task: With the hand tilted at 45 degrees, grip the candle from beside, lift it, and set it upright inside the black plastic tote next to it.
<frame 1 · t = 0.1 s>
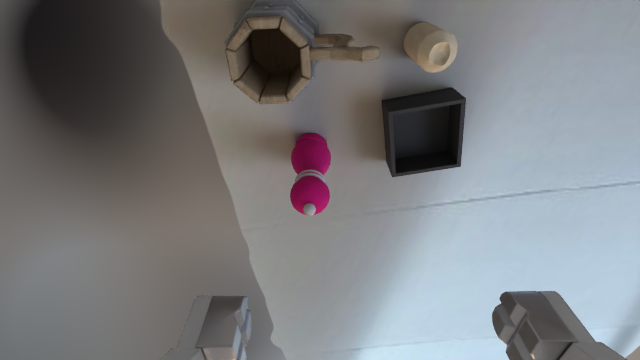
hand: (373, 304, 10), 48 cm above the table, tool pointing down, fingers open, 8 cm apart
tote: (417, 127, 59), on the table
tankard: (302, 41, 50), on the table
candle: (419, 40, 50), on the table
pepper mill: (311, 146, 61), on the table
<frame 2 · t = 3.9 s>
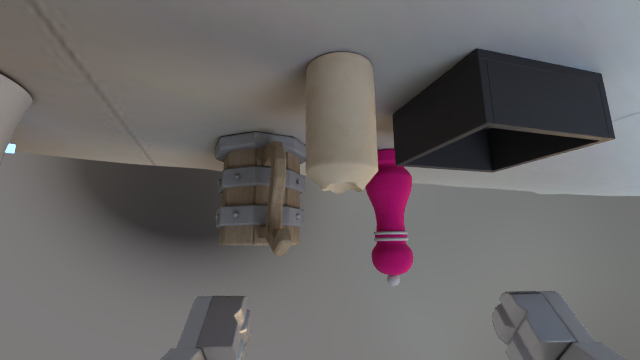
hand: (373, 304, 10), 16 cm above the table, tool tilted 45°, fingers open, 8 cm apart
tote: (483, 97, 30), on the table
tankard: (269, 138, 42), on the table
candle: (339, 68, 26), on the table
pepper mill: (386, 153, 50), on the table
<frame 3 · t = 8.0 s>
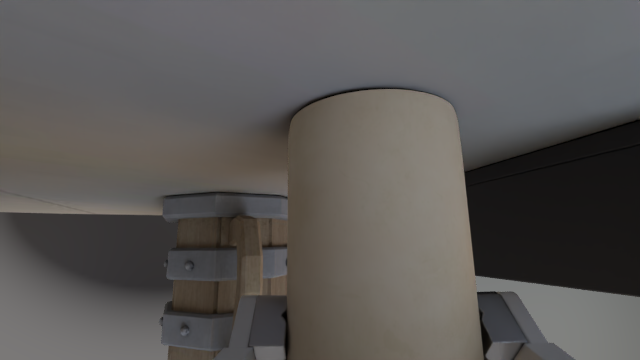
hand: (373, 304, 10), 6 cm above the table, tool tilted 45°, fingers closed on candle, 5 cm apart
tankard: (243, 195, 27), on the table
candle: (369, 119, 11), on the table, touching gripper
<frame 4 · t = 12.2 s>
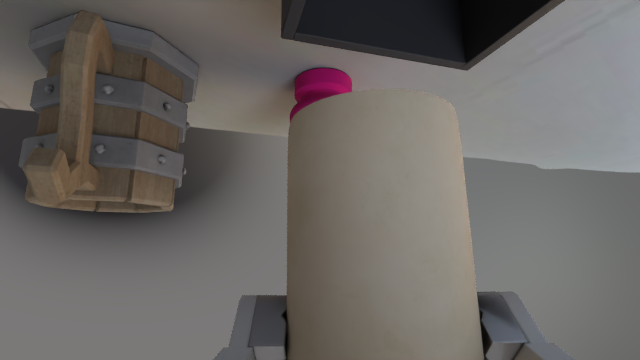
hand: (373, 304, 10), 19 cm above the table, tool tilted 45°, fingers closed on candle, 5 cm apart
tankard: (121, 38, 27), on the table
candle: (369, 119, 11), point 13 cm above the table, touching gripper
pepper mill: (323, 81, 34), on the table
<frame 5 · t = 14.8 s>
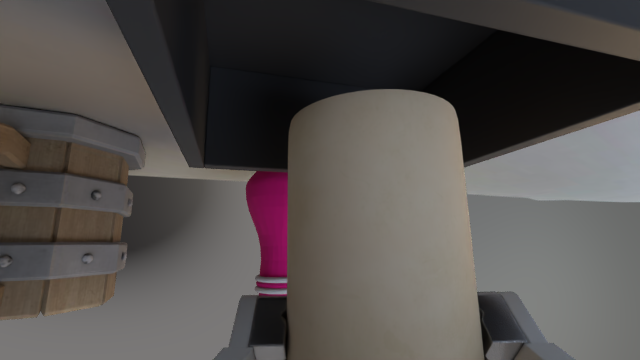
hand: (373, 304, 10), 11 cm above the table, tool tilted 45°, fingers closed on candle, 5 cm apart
tankard: (44, 118, 24), on the table
candle: (369, 119, 11), point 5 cm above the table, touching gripper
pepper mill: (284, 146, 31), on the table
when the fingers open (7 cm above the table, at t = 16.6 s): candle stays where it is, resting on tote.
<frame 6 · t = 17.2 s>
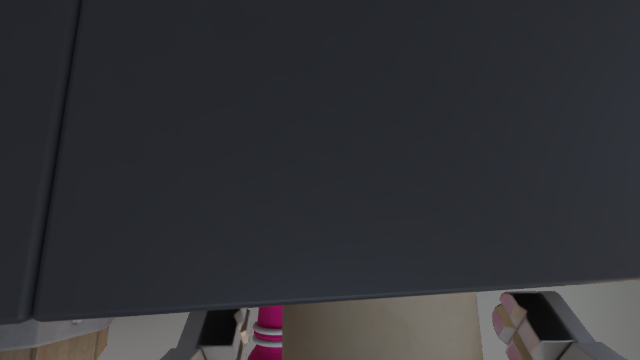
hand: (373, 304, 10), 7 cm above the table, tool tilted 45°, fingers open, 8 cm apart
tote: (366, 87, 11), on the table
tankard: (31, 171, 23), on the table
candle: (365, 102, 11), point 1 cm above the table, touching tote
pepper mill: (282, 185, 30), on the table
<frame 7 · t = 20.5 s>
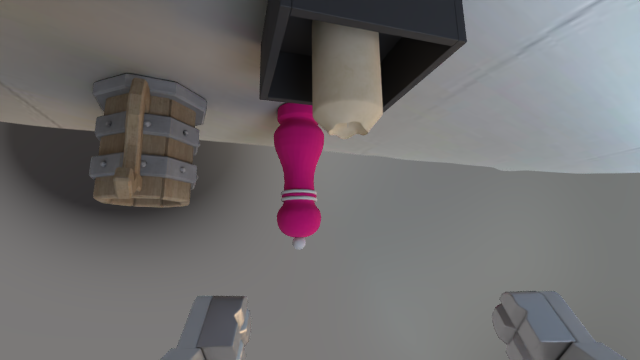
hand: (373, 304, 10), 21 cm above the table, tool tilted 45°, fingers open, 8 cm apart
tote: (344, 13, 27), on the table
tankard: (153, 85, 39), on the table
candle: (344, 18, 26), point 1 cm above the table, touching tote
pepper mill: (299, 109, 46), on the table
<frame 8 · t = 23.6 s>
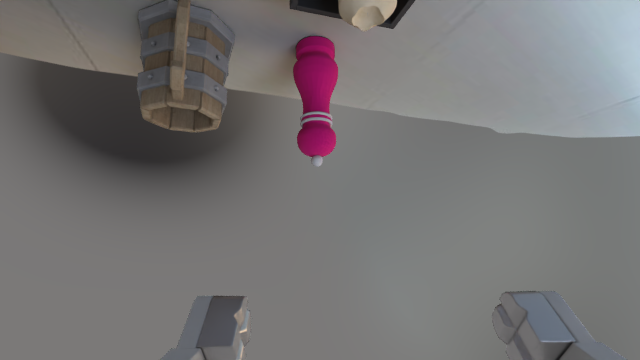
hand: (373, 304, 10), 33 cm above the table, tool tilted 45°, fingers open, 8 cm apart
tankard: (190, 15, 44), on the table
pepper mill: (315, 46, 51), on the table
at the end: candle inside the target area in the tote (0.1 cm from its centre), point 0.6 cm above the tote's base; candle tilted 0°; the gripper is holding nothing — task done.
